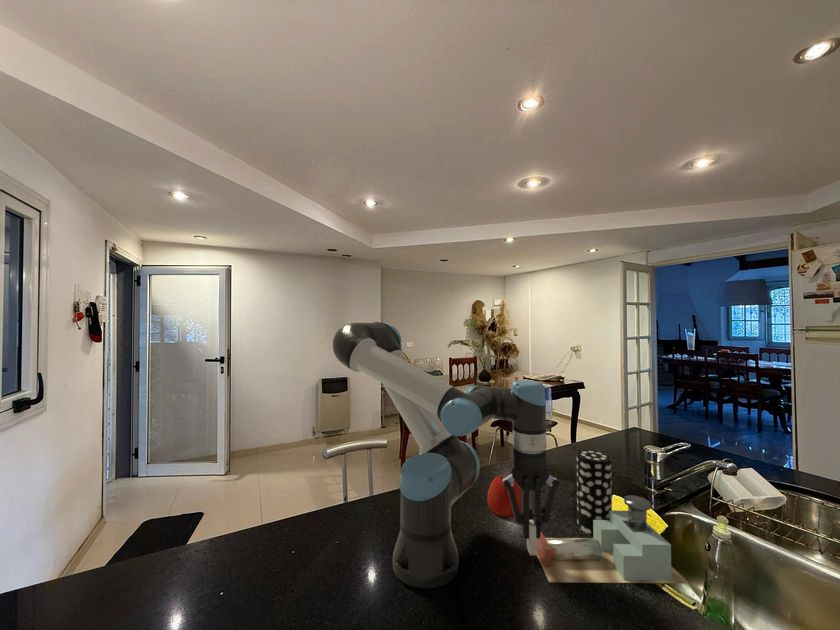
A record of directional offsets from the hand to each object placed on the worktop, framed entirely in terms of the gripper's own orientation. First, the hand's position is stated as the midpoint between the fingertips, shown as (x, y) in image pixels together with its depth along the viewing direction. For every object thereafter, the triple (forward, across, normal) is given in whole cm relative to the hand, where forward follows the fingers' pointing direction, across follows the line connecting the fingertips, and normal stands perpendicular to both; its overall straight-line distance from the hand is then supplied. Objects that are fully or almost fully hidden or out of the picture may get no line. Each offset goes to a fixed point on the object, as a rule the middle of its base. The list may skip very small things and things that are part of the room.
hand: (531, 551), depth 81 cm
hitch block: (+2, +22, 0) cm, 23 cm away
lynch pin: (+2, +9, 0) cm, 9 cm away
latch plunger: (-5, +25, 0) cm, 25 cm away
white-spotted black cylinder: (+3, +20, +13) cm, 24 cm away
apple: (+3, -1, +21) cm, 22 cm away
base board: (+3, +16, 0) cm, 16 cm away
